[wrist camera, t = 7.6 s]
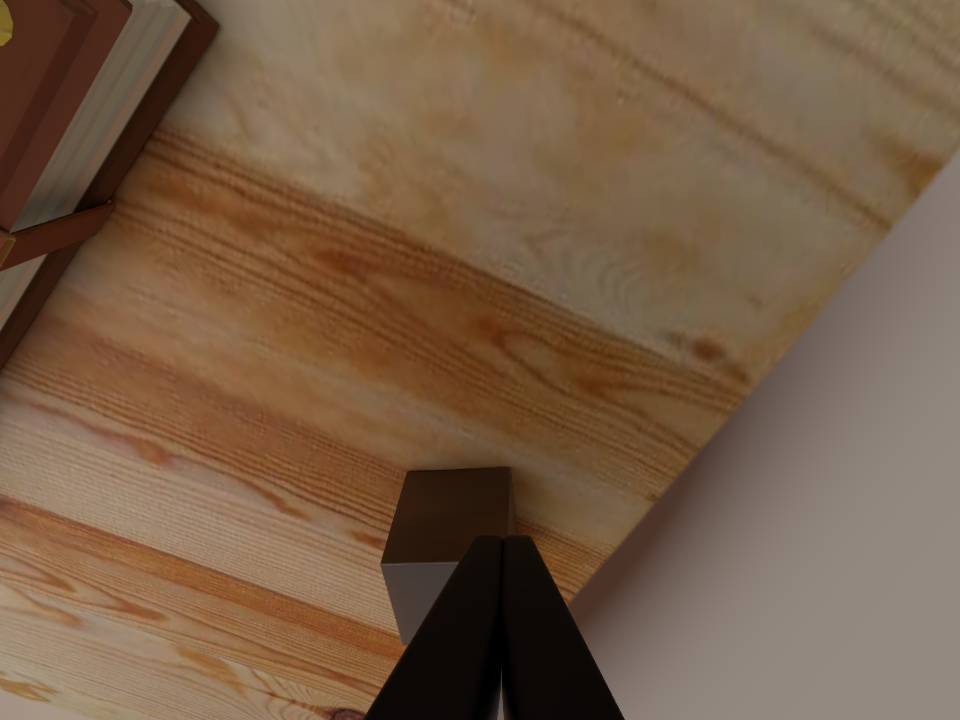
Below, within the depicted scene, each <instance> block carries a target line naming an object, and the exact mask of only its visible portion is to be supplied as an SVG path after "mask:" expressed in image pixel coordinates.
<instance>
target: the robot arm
mask: <svg viewBox="0 0 960 720" xmlns="http://www.w3.org/2000/svg"><path fill="white" fill-rule="evenodd" d="M501 671H502V698H503V712H504V720H625V719H624V717H623V715H622V713H621V711H620V709H619V707H618V706H617V704H616V702H615V700H614V698H613V696H612V694H611V692H610V690H609V688H608V686H607V684H606V682H605V680H604V678H603V676H602V674H601V672H600V670H599V668H598V667H597V664H596V662H595V660H594V659H593V657H592V655H591V653H590V651H589V649H588V647H587V645H586V643H585V641H584V639H583V637H582V635H581V633H580V631H579V629H578V627H577V625H576V623H575V621H574V619H573V617H572V616H571V613H570V612H569V610H568V608H567V606H566V604H565V602H564V600H563V598H562V596H561V594H560V592H559V590H558V588H557V586H556V584H555V582H554V580H553V578H552V576H551V574H550V572H549V570H548V568H547V566H546V565H545V563H544V561H543V559H542V557H541V555H540V553H539V551H538V549H537V547H536V545H535V543H534V541H533V539H532V538H531V537H530V536H528V535H506V536H505V537H504V539H503V538H502V536H501V535H498V534H478V535H476V536H475V537H474V538H473V540H472V541H471V543H470V545H469V546H468V548H467V550H466V551H465V553H464V555H463V556H462V558H461V559H460V561H459V563H458V564H457V566H456V568H455V569H454V571H453V573H452V574H451V576H450V577H449V579H448V581H447V582H446V584H445V586H444V587H443V589H442V591H441V592H440V594H439V596H438V597H437V599H436V600H435V602H434V604H433V605H432V607H431V609H430V610H429V612H428V614H427V615H426V617H425V618H424V620H423V622H422V623H421V625H420V627H419V628H418V630H417V632H416V633H415V635H414V636H413V638H412V640H411V641H410V643H409V645H408V646H407V648H406V650H405V651H404V653H403V655H402V656H401V658H400V659H399V661H398V663H397V664H396V666H395V668H394V669H393V671H392V673H391V674H390V676H389V677H388V679H387V681H386V682H385V684H384V686H383V687H382V689H381V691H380V692H379V694H378V695H377V697H376V699H375V700H374V702H373V704H372V705H371V707H370V709H369V710H368V712H367V714H366V715H365V717H364V718H363V720H497V716H498V709H499V700H500V691H501Z"/></svg>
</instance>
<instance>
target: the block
mask: <svg viewBox="0 0 960 720" xmlns="http://www.w3.org/2000/svg"><path fill="white" fill-rule="evenodd" d="M478 534H498V535H501V536H502V538H503V539H504V537H505V536H506V535H518V531H517V522H516V512H515V503H514V494H513V485H512V476H511V469H510V468H492V469H469V470H446V471H423V472H407V474H406V477H405V481H404V484H403V488H402V491H401V494H400V498H399V501H398V505H397V508H396V512H395V515H394V519H393V522H392V526H391V529H390V532H389V536H388V539H387V543H386V546H385V550H384V553H383V557H382V560H381V563H380V565H381V569H382V572H383V576H384V579H385V583H386V586H387V590H388V594H389V597H390V601H391V604H392V608H393V612H394V615H395V619H396V622H397V626H398V630H399V633H400V637H401V640H402V644H403V645H409V643H410V641H411V640H412V638H413V636H414V635H415V633H416V632H417V630H418V628H419V627H420V625H421V623H422V622H423V620H424V618H425V617H426V615H427V614H428V612H429V610H430V609H431V607H432V605H433V604H434V602H435V600H436V599H437V597H438V596H439V594H440V592H441V591H442V589H443V587H444V586H445V584H446V582H447V581H448V579H449V577H450V576H451V574H452V573H453V571H454V569H455V568H456V566H457V564H458V563H459V561H460V559H461V558H462V556H463V555H464V553H465V551H466V550H467V548H468V546H469V545H470V543H471V541H472V540H473V538H474V537H475V536H476V535H478Z"/></svg>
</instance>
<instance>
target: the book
mask: <svg viewBox="0 0 960 720" xmlns="http://www.w3.org/2000/svg"><path fill="white" fill-rule="evenodd" d="M218 27H219V24H218V23H217V22H216V21H214V20H213V19H212V18H211V17H210V16H209V15H208V14H207V13H206V12H205V11H204V10H203V9H202V8H201V7H200V6H199V5H198V4H197V3H196V2H195V1H194V0H0V369H1V368H2V366H3V365H4V363H5V361H6V360H7V358H8V357H9V355H10V354H11V352H12V350H13V349H14V347H15V346H16V344H17V343H18V341H19V339H20V338H21V336H22V335H23V333H24V332H25V330H26V328H27V327H28V325H29V324H30V322H31V321H32V319H33V317H34V316H35V314H36V313H37V311H38V310H39V308H40V306H41V305H42V303H43V302H44V300H45V299H46V297H47V295H48V294H49V292H50V291H51V289H52V288H53V286H54V284H55V283H56V281H57V280H58V278H59V277H60V275H61V273H62V272H63V270H64V269H65V267H66V266H67V264H68V263H69V261H70V259H71V258H72V256H73V255H74V253H75V252H76V250H77V248H78V247H79V245H80V244H81V242H82V241H83V239H86V238H88V237H91V236H94V235H95V234H96V233H97V232H98V230H99V229H100V227H101V226H102V224H103V223H104V221H105V219H106V218H107V216H108V215H109V213H110V212H111V210H112V209H113V207H114V205H113V202H112V201H111V200H110V199H109V198H110V197H111V195H112V193H113V192H114V190H115V189H116V187H117V186H118V184H119V182H120V181H121V179H122V178H123V176H124V175H125V173H126V171H127V170H128V168H129V167H130V165H131V164H132V162H133V160H134V159H135V157H136V156H137V154H138V153H139V151H140V149H141V148H142V146H143V145H144V143H145V142H146V140H147V138H148V137H149V135H150V134H151V132H152V131H153V129H154V127H155V126H156V124H157V123H158V121H159V120H160V118H161V116H162V115H163V113H164V112H165V110H166V109H167V107H168V105H169V104H170V102H171V101H172V99H173V98H174V96H175V94H176V93H177V91H178V90H179V88H180V87H181V85H182V83H183V82H184V80H185V79H186V77H187V76H188V74H189V72H190V71H191V69H192V68H193V66H194V65H195V63H196V61H197V60H198V58H199V57H200V55H201V54H202V52H203V50H204V49H205V47H206V46H207V44H208V43H209V41H210V39H211V38H212V36H213V35H214V33H215V32H216V30H217V28H218Z"/></svg>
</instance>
